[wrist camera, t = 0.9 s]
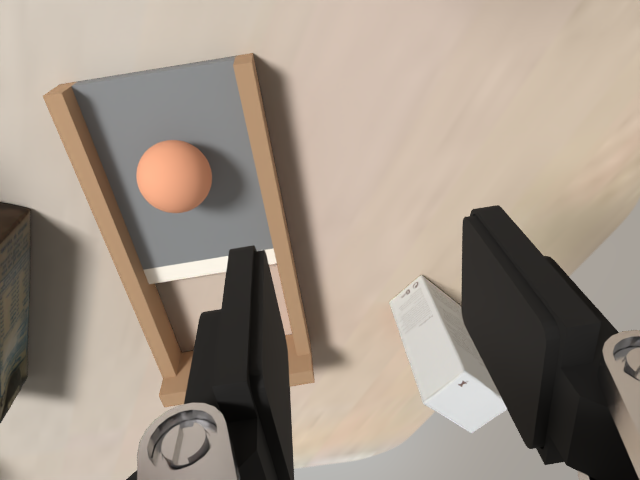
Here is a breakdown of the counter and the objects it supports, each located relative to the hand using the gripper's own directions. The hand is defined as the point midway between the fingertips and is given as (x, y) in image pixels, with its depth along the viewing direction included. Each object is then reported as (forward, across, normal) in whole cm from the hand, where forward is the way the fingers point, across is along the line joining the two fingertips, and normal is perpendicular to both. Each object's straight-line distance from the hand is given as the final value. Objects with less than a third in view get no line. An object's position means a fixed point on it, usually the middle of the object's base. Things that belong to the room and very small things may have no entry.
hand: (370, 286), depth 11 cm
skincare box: (+28, -8, +24) cm, 37 cm away
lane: (+27, +10, +13) cm, 32 cm away
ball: (+24, +10, +6) cm, 26 cm away
